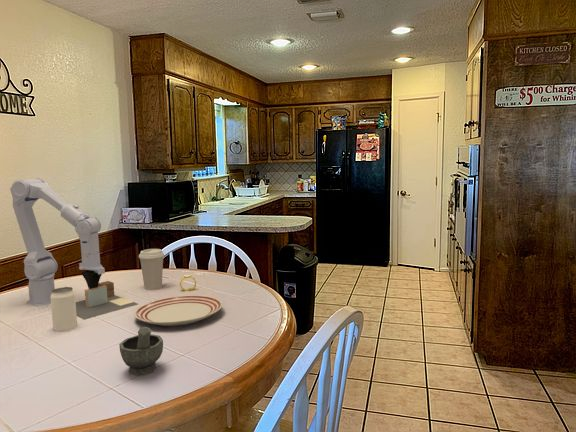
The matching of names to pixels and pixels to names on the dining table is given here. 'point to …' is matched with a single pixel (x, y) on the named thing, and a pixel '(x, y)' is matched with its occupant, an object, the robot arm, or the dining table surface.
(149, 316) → the dinner plate
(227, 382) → the dining table surface
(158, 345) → the mortar and pestle
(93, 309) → the mat
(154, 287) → the coffee cup
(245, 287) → the dining table surface
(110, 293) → the block
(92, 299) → the tile
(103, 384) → the dining table surface
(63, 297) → the can
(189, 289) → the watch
